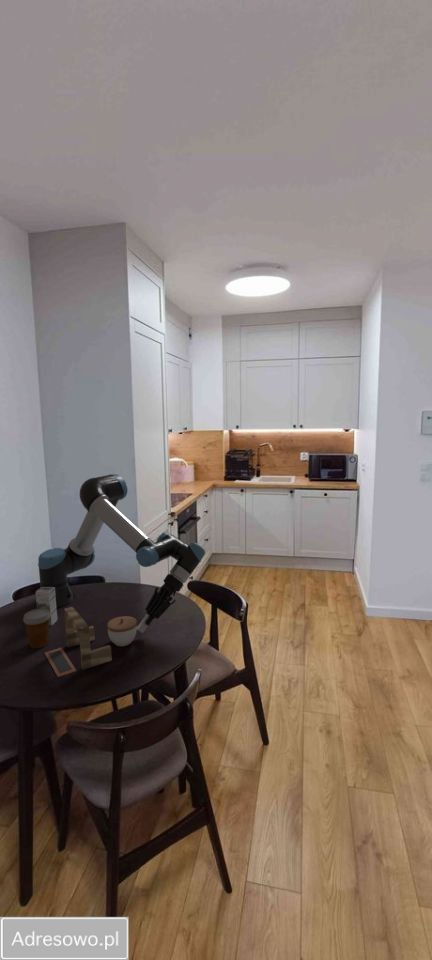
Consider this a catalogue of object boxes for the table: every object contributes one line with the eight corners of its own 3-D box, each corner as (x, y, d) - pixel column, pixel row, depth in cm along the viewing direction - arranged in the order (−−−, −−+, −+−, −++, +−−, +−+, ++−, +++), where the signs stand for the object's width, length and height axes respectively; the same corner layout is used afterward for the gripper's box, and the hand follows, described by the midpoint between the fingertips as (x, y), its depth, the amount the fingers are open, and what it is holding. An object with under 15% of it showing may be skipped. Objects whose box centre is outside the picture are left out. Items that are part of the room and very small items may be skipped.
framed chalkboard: (44, 653, 161) (44, 652, 161) (61, 648, 164) (61, 647, 164) (57, 677, 146) (57, 676, 146) (76, 671, 149) (76, 670, 149)
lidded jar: (127, 632, 175) (126, 609, 173) (143, 641, 167) (142, 618, 166) (102, 642, 167) (101, 618, 166) (118, 653, 160) (117, 628, 158)
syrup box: (58, 619, 187) (55, 586, 185) (51, 626, 181) (48, 592, 179) (44, 619, 187) (42, 586, 185) (37, 626, 182) (34, 591, 179)
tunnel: (66, 646, 165) (63, 608, 163) (93, 638, 171) (91, 601, 169) (82, 669, 150) (80, 628, 148) (111, 660, 155) (109, 620, 153)
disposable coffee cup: (30, 653, 161) (27, 622, 159) (21, 643, 168) (18, 613, 166) (57, 644, 167) (54, 613, 165) (47, 635, 174) (44, 605, 172)
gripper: (191, 588, 173) (153, 642, 166) (174, 578, 184) (139, 628, 177) (178, 578, 169) (139, 633, 163) (162, 568, 180) (125, 619, 173)
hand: (139, 630), depth 170 cm, fingers closed
